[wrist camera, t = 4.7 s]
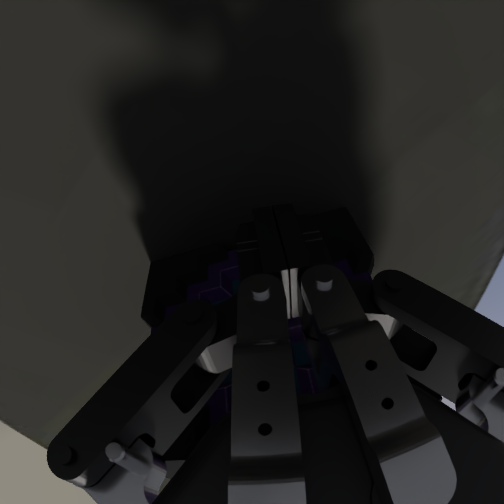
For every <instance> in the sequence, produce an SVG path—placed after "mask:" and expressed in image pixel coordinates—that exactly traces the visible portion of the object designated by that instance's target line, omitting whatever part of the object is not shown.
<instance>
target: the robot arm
mask: <svg viewBox="0 0 504 504" xmlns="http://www.w3.org/2000/svg"><path fill="white" fill-rule="evenodd" d="M252 211H253V219H254V222H251V223H245V224H240V226H239V228H238V230H237V232H236V243H237V254H238V265H239V276H240V285H239V287H238V290H237V291H236V293H235V294H234V295H233V296H232V297H230V298H229V299H227V300H226V301H224V302H221V303H219V304H216V305H214V306H212V305H211V304H210V303H208V302H207V301H204V300H190V301H187V302H184V303H182V304H181V305H179V306H178V307H177V308H176V309H175V310H174V311H173V312H172V313H171V314H170V315H169V316H168V317H167V318H166V319H165V320H164V321H163V322H162V323H161V324H160V325H159V327H158V328H157V329H156V330H155V331H154V332H153V333H152V334H151V335H150V336H149V337H148V338H147V339H146V340H145V341H144V342H143V343H142V344H141V345H140V347H139V348H138V349H137V350H136V351H135V352H134V353H133V354H132V355H131V356H130V357H129V358H128V359H127V360H126V361H125V362H124V363H123V365H122V366H121V367H120V368H119V369H118V370H117V371H116V372H115V373H114V374H113V375H112V376H111V377H110V378H109V379H108V380H107V382H106V383H105V384H104V385H103V386H102V387H101V388H100V389H99V390H98V391H97V392H96V393H95V394H94V395H93V397H92V398H91V399H90V400H89V401H88V402H87V403H86V404H85V405H84V406H83V407H82V408H81V410H80V411H79V412H78V413H77V414H76V415H75V416H74V417H73V418H72V419H71V420H70V421H69V423H68V424H67V425H66V426H65V427H64V428H63V429H62V430H61V431H60V432H59V433H58V435H57V436H56V437H55V438H54V439H53V440H52V441H51V443H50V445H49V447H48V450H47V462H48V465H49V468H50V469H51V471H52V472H53V473H54V474H55V475H56V476H57V477H59V478H61V479H63V480H66V481H68V482H70V483H73V484H74V485H76V486H78V487H81V488H83V489H84V490H85V491H86V492H87V493H88V494H89V495H90V496H91V497H92V498H93V499H94V500H95V501H96V503H97V504H504V327H502V326H500V325H499V324H497V323H495V322H493V321H492V320H490V319H488V318H487V317H485V316H483V315H481V314H479V313H478V312H476V311H474V310H472V309H471V308H469V307H467V306H465V305H463V304H461V303H460V302H458V301H456V300H454V299H452V298H451V297H449V296H447V295H445V294H443V293H441V292H439V291H438V290H436V289H434V288H432V287H430V286H428V285H426V284H424V283H422V282H421V281H419V280H417V279H415V278H413V277H411V276H409V275H407V274H405V273H403V272H401V271H398V270H384V271H381V272H379V273H378V274H377V275H376V276H375V277H374V279H373V281H365V280H355V279H351V278H348V277H346V276H345V274H344V273H343V272H342V271H341V270H340V269H339V268H337V267H335V266H334V263H333V261H332V259H331V256H330V254H329V251H328V249H327V247H326V244H325V242H324V240H323V237H322V235H321V233H320V231H319V228H318V226H317V224H316V221H314V220H313V219H312V218H311V217H309V216H308V215H300V216H296V214H295V211H294V209H293V206H292V204H284V205H277V206H272V208H271V207H264V208H257V209H252ZM290 310H291V315H292V318H295V317H300V321H301V325H302V338H303V341H304V344H305V347H306V350H307V353H308V356H309V359H310V362H311V365H312V369H313V372H314V375H315V378H316V382H317V388H318V394H303V393H296V386H295V377H294V367H293V358H292V349H291V341H290V338H289V330H288V319H290ZM404 324H405V325H406V326H405V325H404ZM407 326H408V327H407ZM409 327H410V328H412V329H413V330H412V329H410V328H409ZM414 330H415V331H414ZM416 331H417V332H418V333H417V332H416ZM419 333H420V334H419ZM421 334H422V335H424V336H425V337H424V336H422V335H421ZM426 337H427V338H426ZM428 338H429V339H430V340H429V339H428ZM431 340H432V341H431ZM231 368H232V406H231V411H230V412H229V413H227V414H226V415H224V416H222V417H221V418H220V419H219V420H218V421H216V422H215V423H214V424H213V425H212V426H211V427H210V428H209V430H208V431H207V432H206V434H205V435H204V436H203V438H202V439H201V440H200V442H199V443H198V445H197V446H196V447H195V449H194V450H193V451H192V453H191V454H190V455H189V457H188V458H187V459H186V460H185V462H184V463H183V464H182V466H181V467H180V468H179V470H178V471H177V472H176V474H175V475H174V476H173V477H172V479H171V480H170V481H169V482H168V484H167V485H166V486H165V488H164V489H163V490H162V491H161V493H160V494H159V489H160V486H161V484H162V482H163V480H164V479H165V476H166V473H167V466H166V462H165V460H164V458H163V454H164V453H165V452H166V451H167V450H168V449H169V447H170V446H171V445H172V444H173V443H174V441H175V440H176V439H177V438H178V437H179V435H180V434H181V433H182V432H183V431H184V429H185V428H186V427H187V426H188V424H189V423H190V422H191V421H192V419H193V418H194V417H195V416H196V415H197V413H198V412H199V411H200V410H201V408H202V407H203V406H204V405H205V403H206V402H207V401H208V400H209V398H210V397H211V396H212V394H213V393H214V392H215V391H216V389H217V388H218V387H219V386H220V384H221V383H222V382H223V380H224V379H225V378H226V377H227V375H228V374H229V372H230V371H231ZM406 374H407V375H409V376H410V377H412V378H414V379H415V380H417V381H419V382H420V383H422V384H423V385H425V386H427V387H428V388H430V389H432V390H433V391H435V392H437V393H438V394H440V395H441V396H443V397H445V398H446V399H448V400H450V401H451V402H453V403H455V407H456V411H455V410H453V409H452V408H450V407H449V406H447V405H445V404H444V403H443V402H441V401H440V400H438V399H437V398H435V397H433V396H432V395H430V394H429V393H427V392H426V391H424V390H423V389H421V388H420V387H418V386H416V385H414V384H411V383H410V381H409V379H408V377H407V375H406Z"/></svg>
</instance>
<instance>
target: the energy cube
mask: <svg viewBox="0 0 504 504" xmlns="http://www.w3.org/2000/svg"><path fill="white" fill-rule="evenodd" d="M311 218H312V219H313V220H314V221H316V224H317V226H318V228H319V231H320V233H321V235H322V237H323V240H324V242H325V244H326V247H327V249H328V251H329V254H330V256H331V259H332V261H333V263H334V266H335V267H337V268H339V269H340V270H341V271H342V272H343V273H344V274H345V276H346V277H348V278H351V279H355V280H365V281H373V280H372V278H371V276H370V275H371V272H372V269H373V266H374V254H373V253H372V251H371V249H370V247H369V246H368V244H367V242H366V241H365V239H364V237H363V235H362V234H361V232H360V230H359V229H358V227H357V225H356V223H355V222H354V220H353V218H352V217H351V215H350V213H349V212H348V210H347V208H346V207H344V208H340V209H337V210H333V211H329V212H326V213H322V214H318V215H315V216H311ZM239 285H240V276H239V265H238V254H237V249H235V250H231V251H226V250H225V249H224V248H223V247H222V246H221V245H220V244H218V243H216V244H213V245H209V246H206V247H202V248H199V249H196V250H192V251H189V252H185V253H182V254H179V255H175V256H172V257H169V258H165V259H162V260H159V261H155V262H152V263H151V264H150V269H149V274H148V279H147V284H146V289H145V295H144V300H143V306H142V312H141V318H142V319H143V320H144V321H145V323H146V324H147V325H148V326H149V327H150V328H151V334H152V333H153V332H154V331H155V330H156V329H157V328H158V327H159V325H160V324H161V323H162V322H163V321H164V320H165V319H166V318H167V317H168V316H169V315H170V314H171V313H172V312H173V311H174V310H175V309H176V308H177V307H178V306H179V305H181V304H182V303H184V302H187V301H190V300H204V301H207V302H208V303H210V304H211V305H212V306H214V305H216V304H219V303H221V302H224V301H226V300H227V299H229V298H230V297H232V296H233V295H234V294H235V293H236V291H237V290H238V287H239ZM404 325H405V324H404ZM405 326H406V325H405ZM407 327H408V326H407ZM409 328H410V327H409ZM410 329H412V328H410ZM288 330H289V338H290V341H291V349H292V358H293V367H294V377H295V386H296V393H303V394H318V388H317V382H316V378H315V375H314V372H313V369H312V365H311V362H310V359H309V356H308V353H307V350H306V347H305V344H304V341H303V338H302V325H301V321H300V317H295V318H292V315H291V310H290V319H288ZM406 375H407V374H406ZM407 377H408V379H409V381H410V383H411V384H414V385H416V386H418V387H420V388H421V389H423V390H424V391H426V392H427V393H429V394H430V395H432V396H433V397H435V398H437V399H438V400H440V401H441V400H442V396H441V395H440V394H438V393H437V392H435V391H433V390H432V389H430V388H428V387H427V386H425V385H423V384H422V383H420V382H419V381H417V380H415V379H414V378H412V377H410V376H409V375H407ZM231 406H232V368H231V371H230V372H229V374H228V375H227V377H226V378H225V379H224V380H223V382H222V383H221V384H220V386H219V387H218V388H217V389H216V391H215V392H214V393H213V394H212V396H211V397H210V398H209V400H208V401H207V402H206V403H205V405H204V406H203V407H202V408H201V410H200V411H199V412H198V413H197V415H196V416H195V417H194V418H193V419H192V421H191V422H190V423H189V424H188V426H187V427H186V428H185V429H184V431H183V432H182V433H181V434H180V435H179V437H178V438H177V439H176V440H175V441H174V443H173V444H172V445H171V446H170V447H169V449H168V450H167V451H166V452H165V453H164V454H163V458H164V460H165V462H166V466H167V473H166V476H165V477H167V478H170V479H172V477H173V476H174V475H175V474H176V472H177V471H178V470H179V468H180V467H181V466H182V464H183V463H184V462H185V460H186V459H187V458H188V457H189V455H190V454H191V453H192V451H193V450H194V449H195V447H196V446H197V445H198V443H199V442H200V440H201V439H202V438H203V436H204V435H205V434H206V432H207V431H208V430H209V428H210V427H211V426H212V425H213V424H214V423H215V422H216V421H218V420H219V419H220V418H221V417H222V416H224V415H226V414H227V413H229V412H230V411H231Z"/></svg>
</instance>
